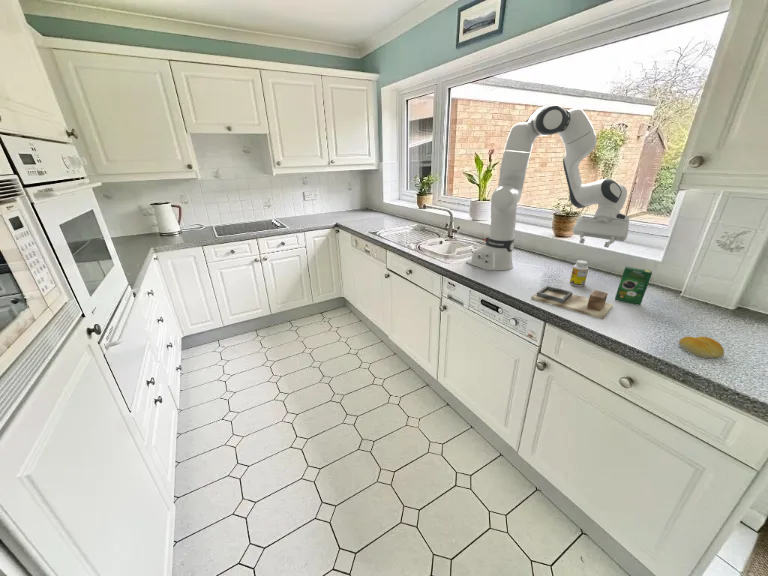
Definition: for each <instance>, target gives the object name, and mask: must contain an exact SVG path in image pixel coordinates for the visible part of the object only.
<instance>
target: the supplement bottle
mask: <svg viewBox="0 0 768 576" xmlns="http://www.w3.org/2000/svg"><path fill="white" fill-rule="evenodd" d="M588 273H589V266H588V261H586V260H581V259H579V260H576V263H575V264H573V266H572V270H571V276H570V279H569V284H570V285H572V286H574V287H583V286H585V285H586V281H587V277H588Z"/></svg>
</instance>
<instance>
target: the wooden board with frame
mask: <svg viewBox="0 0 768 576" xmlns="http://www.w3.org/2000/svg"><path fill="white" fill-rule="evenodd" d="M608 295H609V294H608V292H604V291H601V290H597V289H594V291H593V292H592V293H590V295H589V297H586V296H581V295H578V294H574V293H573V291H570V290H566V289H561V288H558V287H554V286H550V285H545V286H544V287H542V288H541V289H540V290H538V291H537V292H536V293H534V294H533V295H531V300H533V299H534V301H537V302H540V301H541V303H545V304H547V303H548V305H551V304H552V305H551V306H555V307H559V308H561V307H562V308H561V309H565V310H567V311H573V312H575V313H579V314H583V315H585V316H590V317H593V318H597V319H601V320H604V318H605V317H606V316H607V315H608V314H609V312H610V311H611V310H612V308H613V307H614V304H613V303H610V302H606V301H607V297H608Z"/></svg>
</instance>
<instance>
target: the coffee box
mask: <svg viewBox="0 0 768 576" xmlns="http://www.w3.org/2000/svg"><path fill="white" fill-rule="evenodd" d="M652 274H653V272H652V270H649V269H648V270H647V269H641V268H638V267H630V266H625V267H624V270H623V273H622V275H621V276H622V277H620V278H621V279H620V281H619V285H618V288H617V291H616V294H615V298H614V301H617V302H620V303H626V304H631V305H636V306H641V305H642V302H643V300H644V296H645V293H646V291H647V288H648V285H649V282H650V279H651V277H652Z"/></svg>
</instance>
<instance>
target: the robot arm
mask: <svg viewBox="0 0 768 576" xmlns="http://www.w3.org/2000/svg"><path fill="white" fill-rule="evenodd" d="M554 134H558V135H559V137H560V138H561V141H562V143H563V145H564V149H565V154H564V156H563V158H562V165H563V169H564V175H565V179H566V183H567V186H568V191H569V201H570V203H571V204H572V206H574V207H576V208H577V209H584V208H587V207H589V206H593V205H597V206H598V207H597V210H596V211H595V213H594V215H593V216H580V217H578V218H577V219H576V222H575V224H574V226H573V227H572V232H573V234H574V235H576V236H579V244H581V245H582V244H583V245H584V243H585V241H586V240H585V238H584V237H590V238H599V239H602V240H603V239H605V240H609V241H605V243H604V244H603V245H604V248H608V249H609V247H610V245H611V244H613V243H614V242H615V241H618V242H624V241H626V240H627V238H628V235H629V228H630V227H629V224H630V218H629V217H630V216H628V215H626V214H623V213H621V211H622V209H624V208H623V207H625V206H624V205H625V202H626V201H627V196H628V189H627V188H626V186H624V185H622V184H618V183H617V182H616V181H615V180H613V179H612V178H604V179H603V178H602V179H600V180H596V181H594V182H590V183H586V184H585V183H583V181H582V179H581V177H582V176H581V173H580V169H579V165H580V163H581V162H582V161H583V160H584V159H585V158H587V157H588V156H589V155H590V154H592V152H593V151H594V149H595V147H596V145H597V142H598V141H597V140H598V139H597V135H596V131H595V129H594V126H593V125H592V122H591V121H590V119H589V118H588V116H587V114H586V112H585V111H584V110H583V109H582V108H579V107H576V108H571V109H569V110H567V109H565V108H563V107H562V106H560V105H558V104H549V105H548V104H547V105H544V106H540V107H539V108H537V109H535V110H534V111H533V112H532V113H531V114H530V116H529V117H528V118H527V120H526V121H525V122H524V121H523V122H518V123H516V124H514V125H513V126H512V127H511V128H510V131H509V133H508V136H507V138H506V141H505V145H504V150H503V154H502V159H501V164H500V168H499V176H498V177H499V178H498V183H497V185H498V186H497V188H496V189H495V190H494V191H493V193H492V194H491V198H490V199H491V200H490V202H491V203H490V227H489V236H487V237H486V238H484V240H483V242H485V243H484V244H483V245H481V246H480V247H477V248H476V249H474V251H473V252H472V254H471V255H472V256H471V257H469V258H468V259H467V260H466V263H467V264H468V265H472V266H474V267H478V268H480V269H483V270H485V271H508V270H511V269H513V268H514V265H513V250H514V247H515V246H514V245H515V230H516V224H517V219H516V218H517V205H518V203H519V201H520V200H521V199H522V193H523V188H524V184H525V179H526V172H527V168H528V166H529V162H530V157H531V153H532V149H533V145H534V142H535V141H536V139H537V138H538V137H544V136H545V137H546V136H552V135H554Z"/></svg>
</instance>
